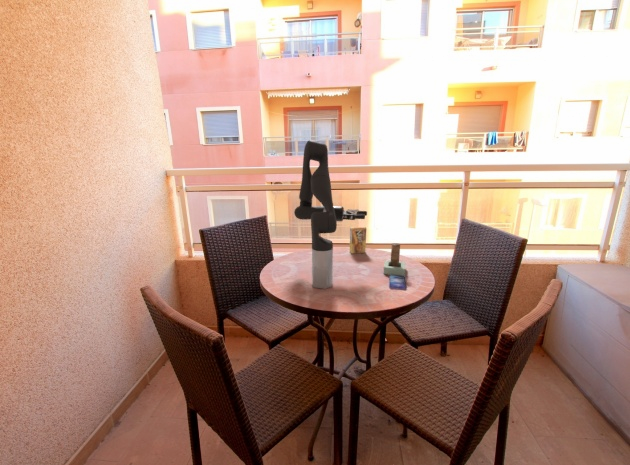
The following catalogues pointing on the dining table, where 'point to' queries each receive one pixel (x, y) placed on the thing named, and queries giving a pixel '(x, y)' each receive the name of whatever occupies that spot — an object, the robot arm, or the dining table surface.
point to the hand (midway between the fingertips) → (365, 215)
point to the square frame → (394, 268)
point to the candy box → (357, 239)
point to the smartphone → (397, 282)
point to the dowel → (395, 255)
